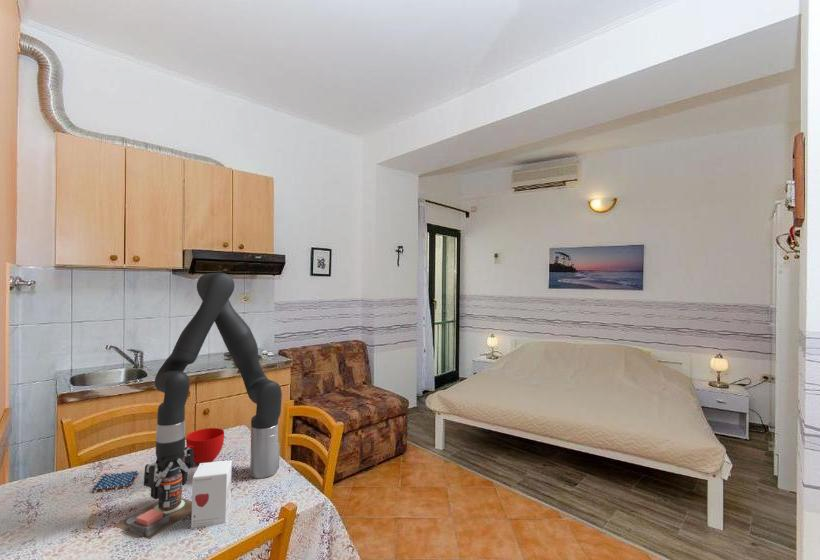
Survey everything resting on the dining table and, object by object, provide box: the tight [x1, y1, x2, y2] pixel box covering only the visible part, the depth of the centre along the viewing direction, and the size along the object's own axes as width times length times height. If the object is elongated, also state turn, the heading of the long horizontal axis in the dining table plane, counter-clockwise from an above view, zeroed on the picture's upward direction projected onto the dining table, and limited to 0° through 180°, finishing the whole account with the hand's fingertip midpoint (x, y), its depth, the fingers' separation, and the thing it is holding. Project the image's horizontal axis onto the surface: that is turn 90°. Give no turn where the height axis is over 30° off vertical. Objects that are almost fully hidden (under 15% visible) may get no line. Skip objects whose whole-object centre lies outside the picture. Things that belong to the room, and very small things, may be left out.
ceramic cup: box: [183, 427, 225, 465], centre depth 147 cm, size 13×17×10 cm
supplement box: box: [190, 459, 233, 529], centre depth 112 cm, size 9×9×15 cm
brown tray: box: [112, 497, 192, 540], centre depth 112 cm, size 17×14×3 cm
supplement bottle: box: [157, 466, 183, 510], centre depth 117 cm, size 6×6×11 cm
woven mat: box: [92, 470, 140, 494], centre depth 131 cm, size 10×11×2 cm
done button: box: [136, 509, 163, 527], centre depth 107 cm, size 4×4×2 cm
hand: (169, 491), depth 116 cm, fingers open, 8 cm apart
